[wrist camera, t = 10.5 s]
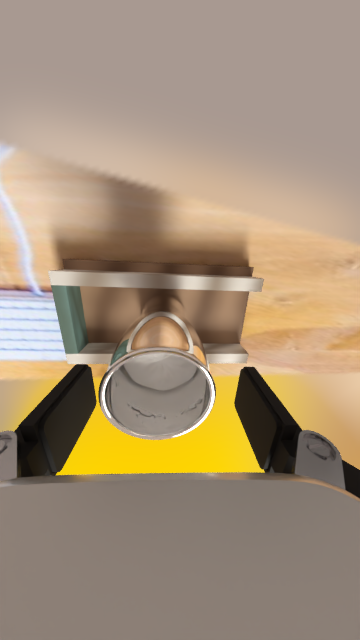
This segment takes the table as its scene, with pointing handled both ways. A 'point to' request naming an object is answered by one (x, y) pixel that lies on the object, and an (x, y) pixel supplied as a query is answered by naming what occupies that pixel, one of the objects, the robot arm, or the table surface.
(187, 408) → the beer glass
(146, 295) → the track board
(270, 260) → the table surface
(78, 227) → the table surface
